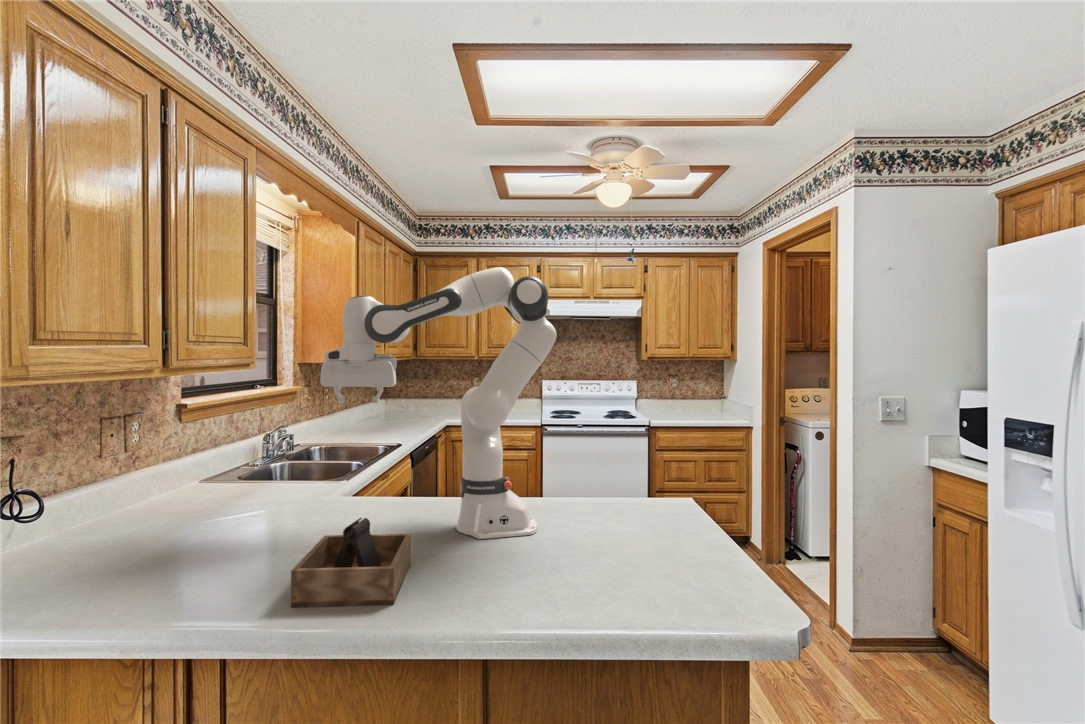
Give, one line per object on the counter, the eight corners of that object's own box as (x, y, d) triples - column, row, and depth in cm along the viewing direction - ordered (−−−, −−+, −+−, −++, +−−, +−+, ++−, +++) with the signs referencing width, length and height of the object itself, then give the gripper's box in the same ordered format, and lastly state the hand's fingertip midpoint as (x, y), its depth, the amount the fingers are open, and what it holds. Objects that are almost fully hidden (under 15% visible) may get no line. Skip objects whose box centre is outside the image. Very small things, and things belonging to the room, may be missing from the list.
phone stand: (383, 574, 110) (383, 518, 110) (370, 587, 104) (371, 527, 104) (343, 571, 111) (343, 516, 111) (328, 584, 105) (329, 525, 105)
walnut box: (410, 564, 118) (410, 534, 118) (393, 604, 99) (393, 568, 99) (324, 566, 116) (324, 535, 116) (290, 607, 97) (291, 570, 97)
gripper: (399, 354, 149) (398, 402, 149) (326, 353, 147) (325, 401, 148) (394, 354, 143) (394, 404, 143) (318, 353, 141) (317, 403, 141)
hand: (358, 403), depth 145 cm, fingers open, 8 cm apart
